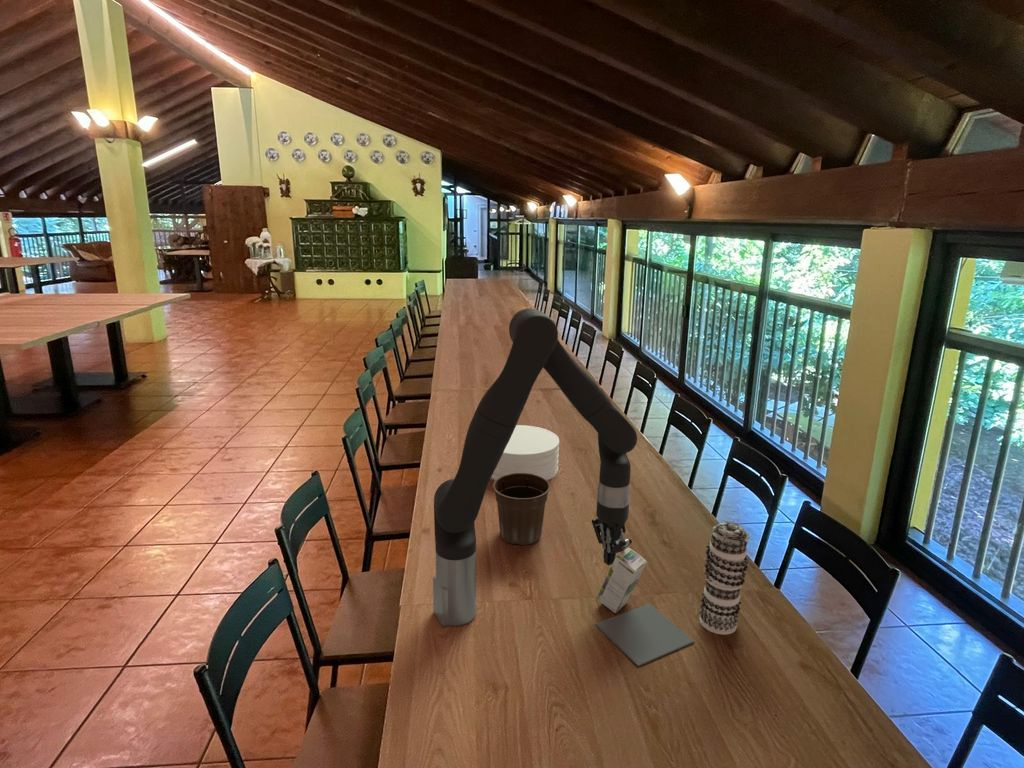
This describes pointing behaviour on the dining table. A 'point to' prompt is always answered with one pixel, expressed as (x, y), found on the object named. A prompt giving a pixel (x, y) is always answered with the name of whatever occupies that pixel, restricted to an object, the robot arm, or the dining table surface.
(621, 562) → the syrup box
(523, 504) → the plant pot
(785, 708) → the dining table surface
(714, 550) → the decorative candle
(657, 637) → the mat
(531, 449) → the plate stack
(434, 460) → the dining table surface
